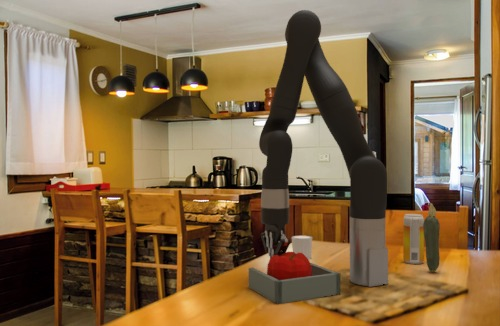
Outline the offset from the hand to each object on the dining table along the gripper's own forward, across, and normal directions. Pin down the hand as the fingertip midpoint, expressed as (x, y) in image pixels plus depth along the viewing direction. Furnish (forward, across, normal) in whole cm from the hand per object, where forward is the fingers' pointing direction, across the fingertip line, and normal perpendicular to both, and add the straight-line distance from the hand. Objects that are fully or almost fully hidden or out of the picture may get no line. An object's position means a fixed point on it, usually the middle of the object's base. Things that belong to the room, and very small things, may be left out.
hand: (274, 270), depth 126 cm
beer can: (+3, +1, -50) cm, 50 cm away
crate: (+3, -10, 0) cm, 10 cm away
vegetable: (+3, -11, -45) cm, 47 cm away
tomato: (+3, -8, 0) cm, 9 cm away
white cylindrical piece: (+3, +22, -22) cm, 32 cm away
